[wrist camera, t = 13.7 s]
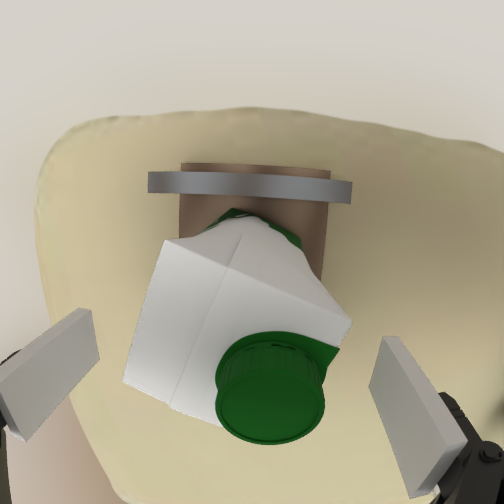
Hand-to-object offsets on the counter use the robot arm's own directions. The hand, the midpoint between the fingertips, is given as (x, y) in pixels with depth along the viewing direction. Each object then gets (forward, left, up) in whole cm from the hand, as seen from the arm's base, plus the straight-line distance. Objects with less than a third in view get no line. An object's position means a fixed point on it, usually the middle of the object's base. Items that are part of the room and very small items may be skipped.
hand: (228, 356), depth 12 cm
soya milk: (0, 0, -18) cm, 18 cm away
